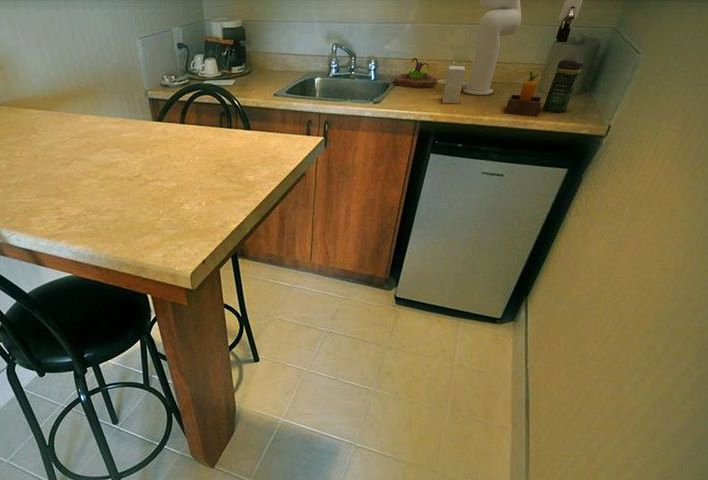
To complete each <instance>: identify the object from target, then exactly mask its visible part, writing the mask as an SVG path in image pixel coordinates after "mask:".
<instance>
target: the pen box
mask: <svg viewBox="0 0 708 480" xmlns="http://www.w3.org/2000/svg"><path fill="white" fill-rule="evenodd" d="M520 95H521V94H513V93H511V94H510V96H509V98H508V100H507V103H506V107H505V111H504V113H505V114H511V115H520V116H527V117H528V116H529V117H538V115H539V111H540V108H541V105H542V101H543V97H542V96H534V95H533V97H532V99H531V101H523V100H520Z"/></svg>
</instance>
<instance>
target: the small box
mask: <svg viewBox="0 0 708 480" xmlns="http://www.w3.org/2000/svg"><path fill="white" fill-rule="evenodd" d="M465 73H466V67H465V66H463V65H460V66H459V65H449V66H448V70H447V75H446V79H445V85H444V89H443V95H442V103H443V104H459V100H460V96H461V91H462V87H463V86H462V83H463V81H464V78H465Z"/></svg>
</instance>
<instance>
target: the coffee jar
mask: <svg viewBox="0 0 708 480" xmlns="http://www.w3.org/2000/svg"><path fill="white" fill-rule="evenodd" d="M584 63H585V61H584V60H583V58H581V57H576V56H569V57H567V58H564V59H561V60H560V61H558V64H557V66H556V70H555V73H554V76H553V79H552V80H551V81H552V82H551V85H550V87H549V90H548V93H547V95H546V97H545V101H544V104H543V106H542V108H543V110H545V111H547V112H551V113H554V112H559V113H561V112H564V111H566V110H567V108H568V106H569V103H570V100H571V98H572V94H573V93H574V90H575V88H576V84H577V82H578V80H579V76H580V74H581V72H582V69H583V66H584Z"/></svg>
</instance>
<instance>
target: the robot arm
mask: <svg viewBox="0 0 708 480" xmlns="http://www.w3.org/2000/svg"><path fill="white" fill-rule="evenodd" d="M583 1H584V0H564V1H563V5H562V8H561V11H560V14H559V17H558V21H559V22H560V26H559V27H558V30H557V33H556V36H555V38H556V42H557V43H567V42H568V40H569V36H570V34H571V30H572V29H571V28H572V25H573V22H575V21H576V19H577V16H578V15H579V12H580V9H581V6H582V3H583ZM479 2H480V3H479V4H480V6H481V7H482V9H484V10H489V11H487V12H486V13H484V14H483V15H482V16H481V18H480V20H479V24H478V35H477V36H478V37H477V43H476V49H475V54H474V58H473V63H472V67H471V71H470V75H469V79H468V80H466V81H464V80H463V83H462V87H464V88H463V92H464V93H466V94H469V95H475V96H488V95H491V94H493V91H494V89H492V88H491V84H492V81H493V77H494V74H495V69H496V65H497V61H498V58H499V54H500V49H501V42H500V37H505V36H507V37H508V36H511V35H513V34H515V33H516V32H517V31H518V30H519V29H520V26H521V24H522V7H521V0H479Z"/></svg>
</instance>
